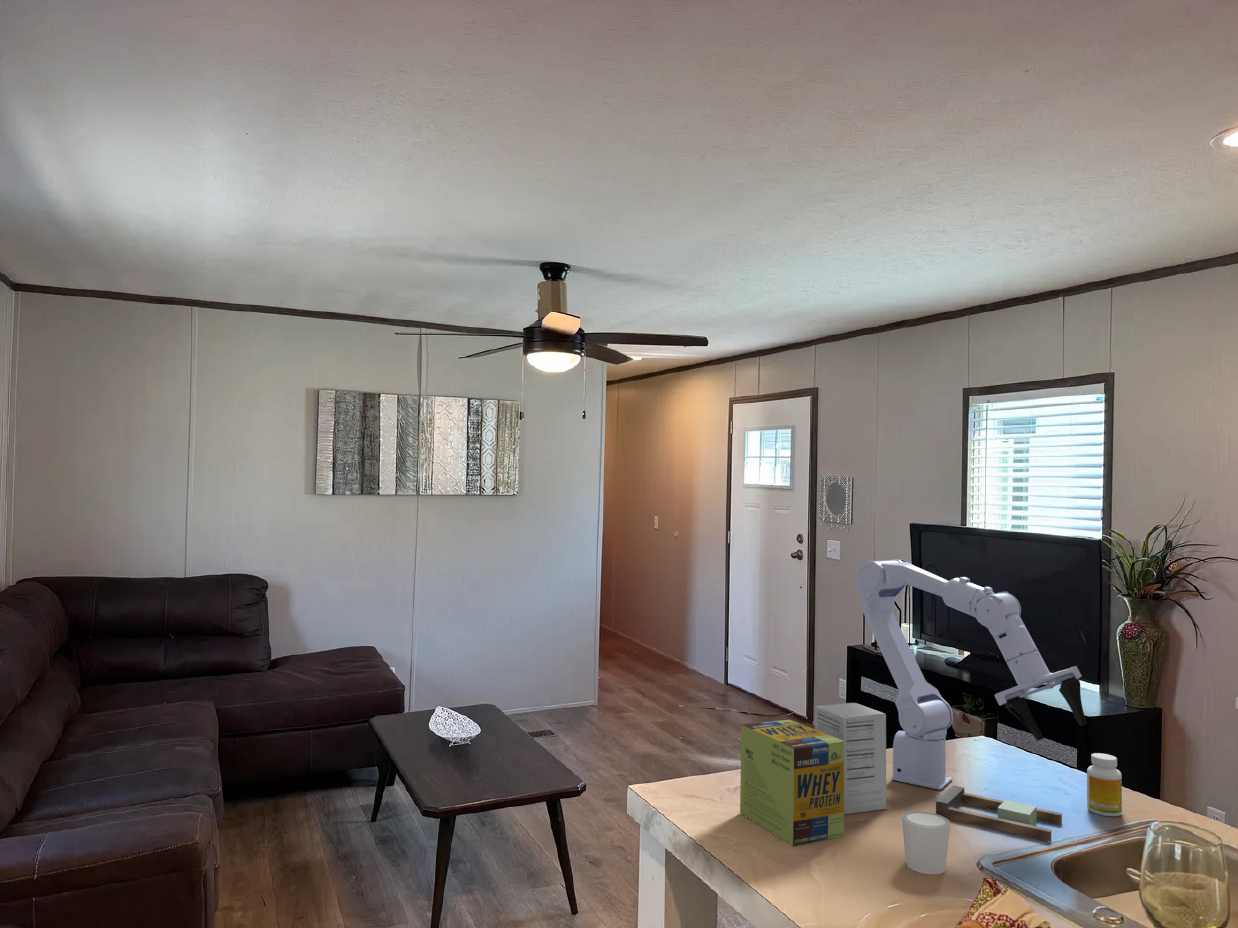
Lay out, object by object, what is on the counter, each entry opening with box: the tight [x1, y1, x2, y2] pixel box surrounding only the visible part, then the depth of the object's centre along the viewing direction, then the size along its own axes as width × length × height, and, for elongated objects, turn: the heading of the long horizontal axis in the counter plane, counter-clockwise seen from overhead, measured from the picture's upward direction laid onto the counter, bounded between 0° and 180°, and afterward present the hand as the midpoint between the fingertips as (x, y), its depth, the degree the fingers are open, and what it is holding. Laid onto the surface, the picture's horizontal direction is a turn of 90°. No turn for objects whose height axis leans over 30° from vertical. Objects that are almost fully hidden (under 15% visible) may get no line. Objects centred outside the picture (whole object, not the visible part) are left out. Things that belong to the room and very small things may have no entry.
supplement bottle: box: [1086, 752, 1123, 817], centre depth 151 cm, size 5×5×10 cm
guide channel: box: [935, 784, 1063, 842], centre depth 147 cm, size 18×10×2 cm, turn 53°
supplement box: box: [814, 702, 887, 815], centre depth 154 cm, size 10×9×17 cm
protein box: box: [739, 719, 845, 847], centre depth 143 cm, size 10×15×16 cm
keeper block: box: [997, 799, 1038, 826], centre depth 145 cm, size 5×5×3 cm
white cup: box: [901, 810, 951, 875], centre depth 128 cm, size 7×7×7 cm
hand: (1062, 732), depth 145 cm, fingers open, 7 cm apart
